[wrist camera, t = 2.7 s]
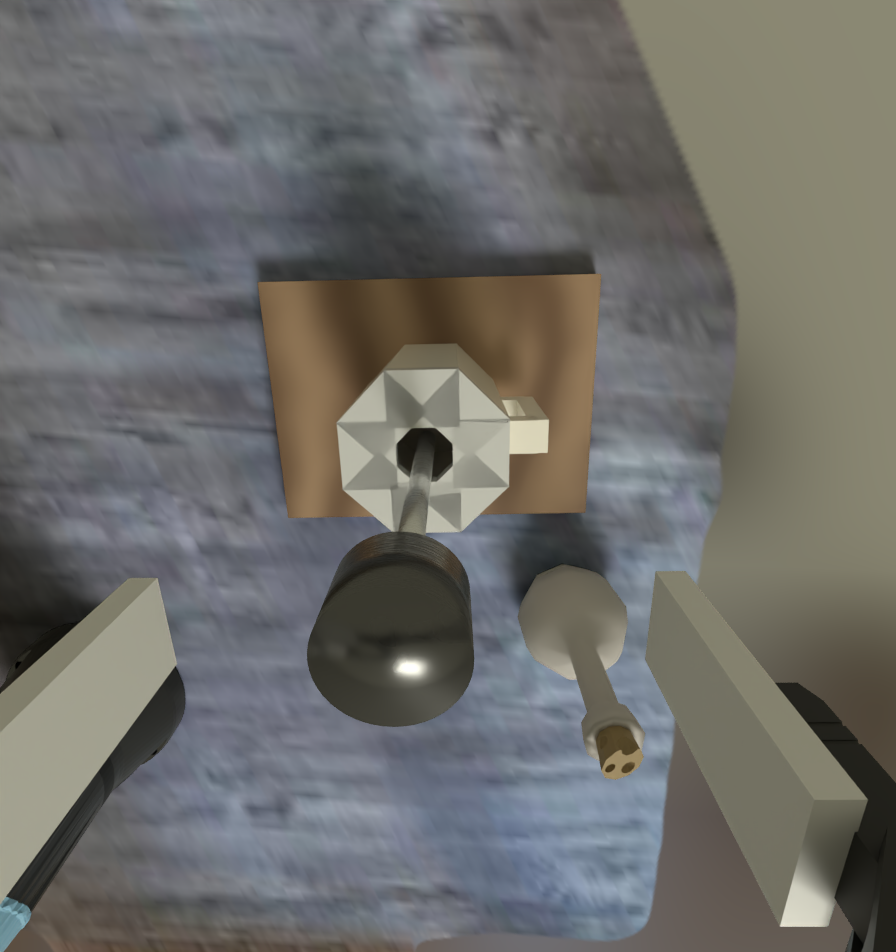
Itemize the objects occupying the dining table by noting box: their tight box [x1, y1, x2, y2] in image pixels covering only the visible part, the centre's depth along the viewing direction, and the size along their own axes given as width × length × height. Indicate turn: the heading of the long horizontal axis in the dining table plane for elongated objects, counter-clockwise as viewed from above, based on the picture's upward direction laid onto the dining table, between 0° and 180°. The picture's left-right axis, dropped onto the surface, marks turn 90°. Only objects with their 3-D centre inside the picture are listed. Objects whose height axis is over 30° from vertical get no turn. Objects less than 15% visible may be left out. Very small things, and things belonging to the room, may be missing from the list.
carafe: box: [336, 343, 549, 533], centre depth 35 cm, size 12×9×13 cm
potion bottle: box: [518, 564, 645, 780], centre depth 40 cm, size 9×9×18 cm
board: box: [258, 274, 601, 518], centre depth 42 cm, size 24×18×2 cm
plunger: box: [307, 431, 474, 727], centre depth 22 cm, size 4×4×20 cm
